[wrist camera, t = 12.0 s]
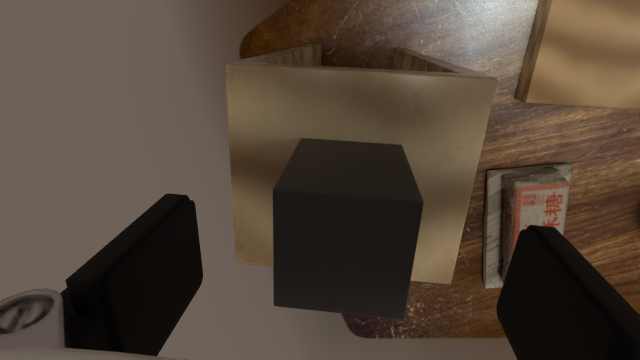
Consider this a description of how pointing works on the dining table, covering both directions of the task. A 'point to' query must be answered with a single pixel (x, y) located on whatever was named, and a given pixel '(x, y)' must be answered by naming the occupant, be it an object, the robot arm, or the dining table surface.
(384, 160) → the block
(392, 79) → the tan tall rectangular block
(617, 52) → the tan flat square block
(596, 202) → the dining table surface
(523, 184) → the packaged product
